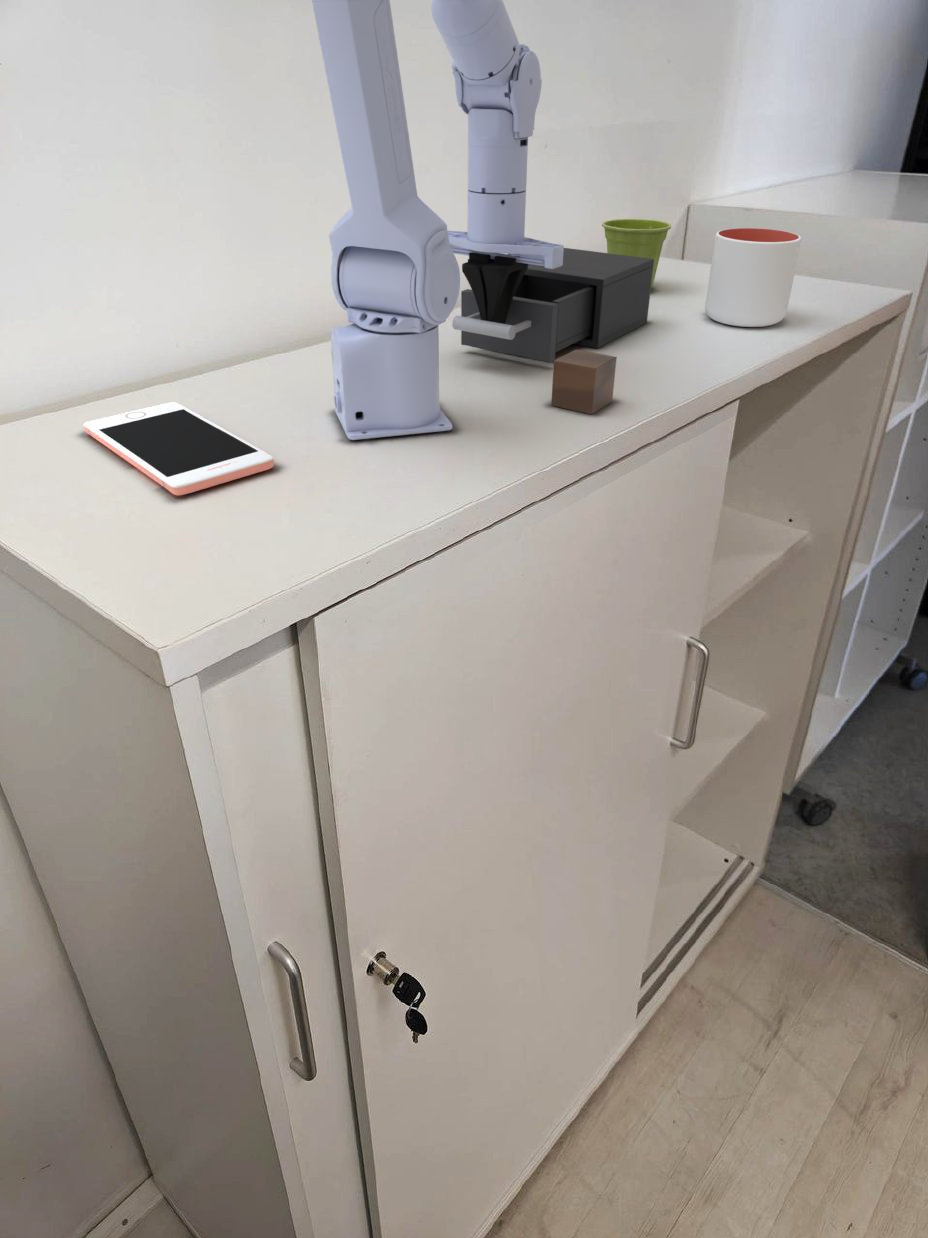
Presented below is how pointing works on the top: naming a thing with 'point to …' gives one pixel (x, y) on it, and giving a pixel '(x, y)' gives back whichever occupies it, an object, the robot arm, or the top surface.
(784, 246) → the cup
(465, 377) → the top surface
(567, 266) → the cabinet
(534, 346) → the drawer
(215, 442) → the cell phone
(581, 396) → the block
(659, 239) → the plant pot
